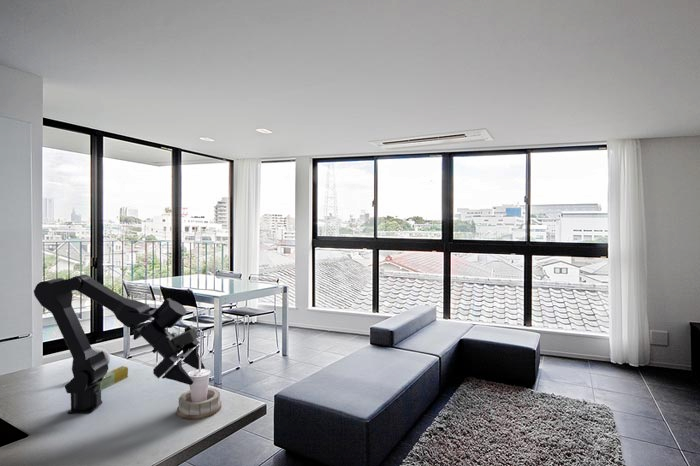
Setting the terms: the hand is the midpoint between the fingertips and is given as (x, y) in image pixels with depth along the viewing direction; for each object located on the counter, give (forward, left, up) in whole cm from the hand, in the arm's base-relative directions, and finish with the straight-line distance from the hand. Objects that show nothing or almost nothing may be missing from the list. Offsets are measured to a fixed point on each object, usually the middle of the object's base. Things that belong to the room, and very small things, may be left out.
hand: (198, 377), depth 115 cm
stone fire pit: (0, 0, -9) cm, 9 cm away
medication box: (-34, +22, -10) cm, 41 cm away
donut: (-43, +29, -10) cm, 53 cm away
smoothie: (0, 0, -9) cm, 9 cm away
